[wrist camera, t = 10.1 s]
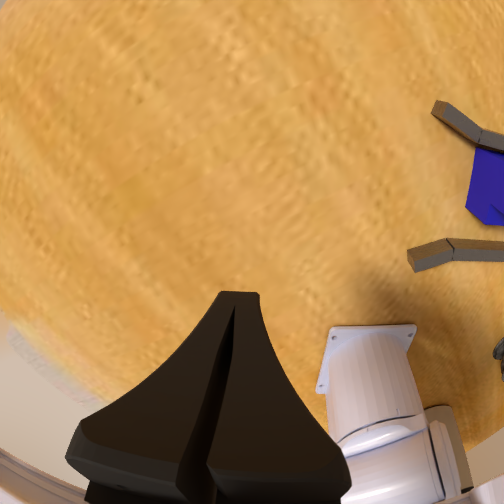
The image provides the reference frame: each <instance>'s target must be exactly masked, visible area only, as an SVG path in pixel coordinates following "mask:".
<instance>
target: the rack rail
mask: <svg viewBox="0 0 504 504" xmlns="http://www.w3.org/2000/svg"><path fill="white" fill-rule="evenodd" d="M431 114H433V115H434V116H436V117H437V118H439V119H440V120H442V121H443V122H444V123H446V124H447V125H449V126H450V127H452V128H453V129H454V130H456V131H457V132H458V133H460V134H461V135H462V136H464V137H465V138H467V139H469V140H472V141H474V142H476V143H478V144H482V145H485V146H489V147H493V148H496V149H500V150H503V151H504V135H503V134H500V133H497V132H493V131H490V130H487V129H483V128H480V127H479V126H478V125H477V124H475V123H474V122H473V121H472V120H470V119H469V118H468V117H467V116H465V115H464V114H463V113H461V112H460V111H459V110H457V109H456V108H455V107H453V106H452V105H451V104H449V103H448V102H443V101H438V100H436V102H435V105H434V107H433V109H432V112H431ZM407 256H408V262H409V264H410V265H411V267H412V269H413V271H414V272H415V273H416V272H419V271H422V270H425V269H429V268H432V267H435V266H438V265H441V264H444V263H447V262H450V261H493V262H504V242H500V241H485V240H469V239H453V238H446V240H445V239H441V240H438V241H435V242H431V243H428V244H425V245H422V246H419V247H415V248H412V249H409V250H407Z"/></svg>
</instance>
